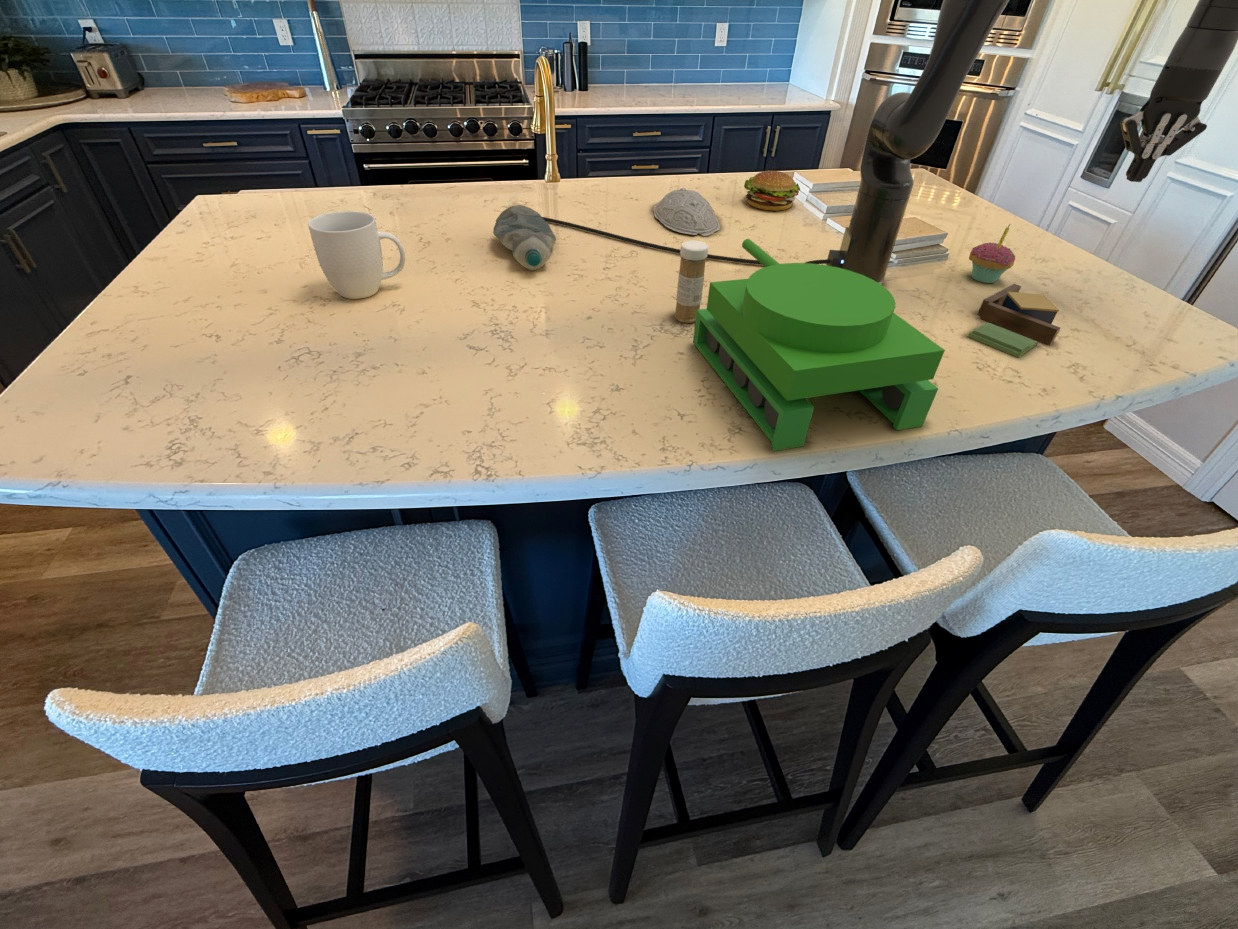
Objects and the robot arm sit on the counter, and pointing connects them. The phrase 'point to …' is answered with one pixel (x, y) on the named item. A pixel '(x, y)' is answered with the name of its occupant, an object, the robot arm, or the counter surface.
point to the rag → (1002, 339)
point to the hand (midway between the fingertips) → (1133, 180)
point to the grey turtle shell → (686, 213)
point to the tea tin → (1031, 305)
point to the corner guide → (1016, 318)
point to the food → (771, 190)
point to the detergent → (525, 235)
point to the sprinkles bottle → (690, 280)
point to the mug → (352, 252)
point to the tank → (813, 346)
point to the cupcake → (991, 260)
